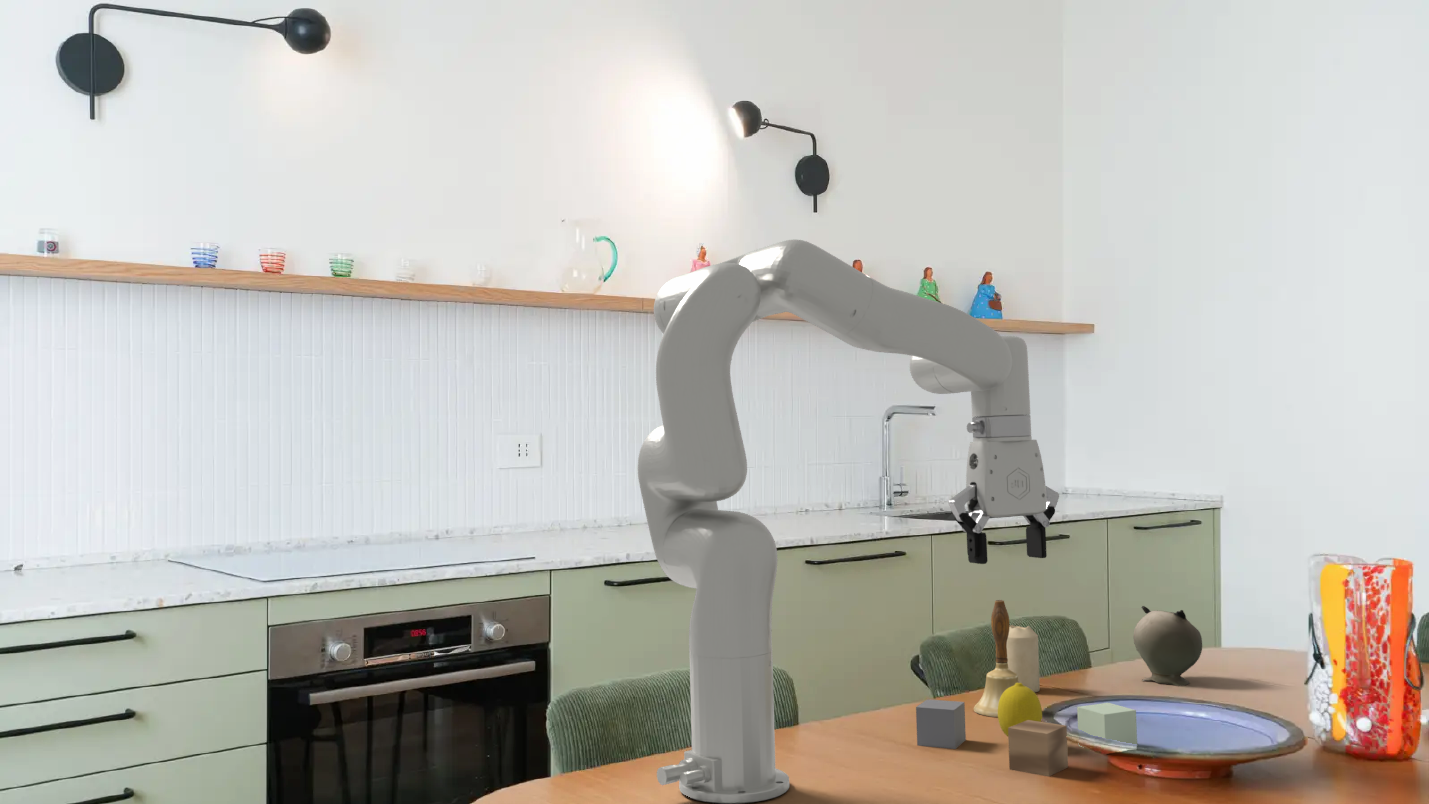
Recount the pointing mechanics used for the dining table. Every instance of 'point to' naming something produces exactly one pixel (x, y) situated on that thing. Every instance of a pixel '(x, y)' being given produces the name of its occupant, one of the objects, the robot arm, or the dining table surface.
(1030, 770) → the walnut cube
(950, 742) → the charcoal cube
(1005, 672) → the hand bell
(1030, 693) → the lemon
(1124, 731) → the sage cube
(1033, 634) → the candle
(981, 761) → the dining table surface
